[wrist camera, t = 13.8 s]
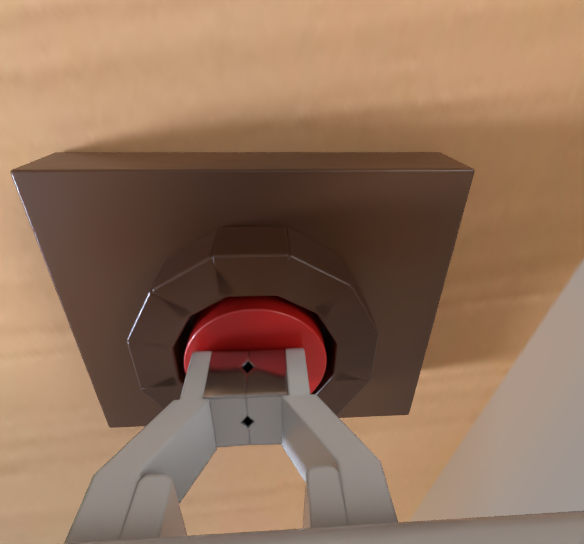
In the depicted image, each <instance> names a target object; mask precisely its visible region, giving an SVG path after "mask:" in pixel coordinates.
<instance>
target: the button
mask: <svg viewBox="0 0 584 544" xmlns="http://www.w3.org/2000/svg"><path fill="white" fill-rule="evenodd" d="M285 348H303V349H304V350H305V358H306V365H307V372H308V380H309V387H310V394H311V393H312V392H313V391H314V390H315V389H316V388H317V386H318V385H319V384H320V382H321V380H322V378H323V376H324V373H325V370H326V364H327V356H326V350H325V345H324V340H323V335H322V330H321V325H320V321H319V316H318V315H317V314H316V313H314V312H312V311H310V310H308V309H305V308H303V307H301V306H299V305H297V304H294V303H292V302H290V301H288V300H286V299H283V298H281V297H279V296H240V297H227V298H225V299H223V300H221V301H219V302H217V303H215V304H213V305H211V306H209V307H207V308H205V309H204V310H202V311H200V312H198V313H196V315H195V319H194V322H193V325H192V329H191V332H190V336H189V339H188V342H187V346H186V349H185V353H184V368H185V372H186V374H187V370H188V366H189V363H190V359H191V355H192V354H193V352H194V351H213V350H263V349H285Z"/></svg>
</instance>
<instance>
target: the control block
mask: <svg viewBox="0 0 584 544" xmlns="http://www.w3.org/2000/svg"><path fill="white" fill-rule="evenodd" d="M11 175H12V178H13V180H14V183H15V186H16V188H17V191H18V193H19V196H20V198H21V201H22V204H23V206H24V209H25V211H26V214H27V216H28V219H29V222H30V224H31V227H32V229H33V232H34V234H35V237H36V240H37V242H38V245H39V247H40V250H41V253H42V255H43V258H44V260H45V263H46V265H47V268H48V271H49V273H50V276H51V278H52V281H53V283H54V286H55V289H56V291H57V294H58V296H59V299H60V301H61V304H62V307H63V309H64V312H65V314H66V317H67V319H68V322H69V325H70V327H71V330H72V332H73V335H74V337H75V340H76V343H77V345H78V348H79V350H80V353H81V355H82V358H83V361H84V363H85V366H86V368H87V371H88V373H89V376H90V379H91V381H92V384H93V386H94V389H95V392H96V394H97V397H98V399H99V402H100V404H101V407H102V410H103V412H104V415H105V417H106V420H107V422H108V425H109V427H111V428H113V427H136V426H146V425H148V424H149V423H150V422H151V421H152V420H153V419H154V418H155V417H156V416H157V415H158V414H159V413H160V412H161V411H162V410H164V409H165V408H166V407H167V406H168V405H169V404H170V403H171V402H172V401H173V400H180V396H181V393H182V389H183V385H184V381H185V378H186V372H185V368H184V353H185V349H186V346H187V342H188V339H189V336H190V332H191V329H192V325H193V322H194V319H195V315H196V313H198V312H200V311H202V310H204V309H205V308H207V307H209V306H211V305H213V304H215V303H217V302H219V301H221V300H223V299H225V298H227V297H240V296H279V297H281V298H283V299H286V300H288V301H290V302H292V303H294V304H297V305H299V306H301V307H303V308H305V309H308V310H310V311H312V312H314V313H316V314H317V315H318V316H319V321H320V325H321V330H322V335H323V340H324V345H325V350H326V356H327V364H326V370H325V373H324V376H323V378H322V380H321V382H320V384H319V385H318V386H317V388H316V389H315V390H314V391H313V392H312V393H311V394H316V395H317V396H318V397H319V398H320V399H321V400H322V401H323V402H324V403H325V404H326V405H327V406H328V407H329V408H330V409H331V410H332V411H333V412H334V413H335V414H336V415H337V416H338V418H345V417H368V416H391V415H408V414H409V411H410V408H411V404H412V400H413V397H414V393H415V389H416V386H417V382H418V378H419V374H420V371H421V367H422V363H423V360H424V356H425V352H426V349H427V345H428V341H429V337H430V334H431V330H432V326H433V323H434V319H435V315H436V312H437V308H438V304H439V300H440V297H441V293H442V289H443V286H444V282H445V278H446V275H447V271H448V267H449V264H450V260H451V256H452V252H453V249H454V245H455V241H456V238H457V234H458V230H459V227H460V223H461V219H462V215H463V212H464V208H465V204H466V201H467V197H468V193H469V190H470V186H471V182H472V178H473V175H474V169H473V168H471V167H469V166H467V165H464V164H462V163H460V162H458V161H456V160H454V159H452V158H450V157H448V156H446V155H444V154H442V153H53V154H51V155H48V156H46V157H43V158H41V159H38V160H36V161H33V162H31V163H28V164H26V165H23V166H21V167H18V168H16V169H13V170H11Z"/></svg>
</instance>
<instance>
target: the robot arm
mask: <svg viewBox="0 0 584 544" xmlns="http://www.w3.org/2000/svg"><path fill="white" fill-rule="evenodd" d="M268 444H282V447H283V448H284V450H285V451H286V453H287V454H288V456H289V458H290V459H291V461H292V462H293V464H294V465H295V467H296V469H297V470H298V472H299V473H300V475H301V476H302V478H303V480H304V481H305V498H304V514H303V529H287V530H271V531H255V532H239V533H224V534H208V535H192V536H187V532H186V528H185V525H184V521H183V517H182V513H181V510H180V506H179V503H180V502H181V500H182V499H183V498H184V496H185V495H186V493H187V492H188V490H189V489H190V487H191V486H192V484H193V483H194V482H195V480H196V479H197V477H198V476H199V474H200V473H201V471H202V470H203V469H204V467H205V466H206V464H207V463H208V461H209V460H210V458H211V457H212V455H213V454H214V453H215V451H216V450H217V449H216V447H228V446H241V445H268ZM64 544H584V511H574V512H558V513H542V514H526V515H512V516H511V515H510V516H494V517H480V518H479V517H478V518H464V519H463V518H462V519H447V520H431V521H416V522H399V523H398V520H397V517H396V513H395V510H394V506H393V503H392V499H391V496H390V492H389V489H388V485H387V482H386V479H385V475H384V472H383V468H382V465H381V461H380V460H379V459H378V458H377V457H376V456H375V455H374V454H373V453H372V452H371V451H370V450H369V449H368V448H367V447H366V445H365V444H364V443H363V442H362V441H361V440H360V439H359V438H358V437H357V436H356V435H355V434H354V433H353V432H352V431H351V430H350V429H349V428H348V427H347V426H346V425H345V424H344V423H343V422H342V421H341V420H340V419H339V418H338V416H337V415H336V414H335V413H334V412H333V411H332V410H331V409H330V408H329V407H328V406H327V405H326V404H325V403H324V402H323V401H322V400H321V399H320V398H319V397H318V396H317V395H316V394H310V387H309V380H308V372H307V365H306V358H305V350H304V349H303V348H285V349H263V350H213V351H194V352H193V354H192V355H191V359H190V363H189V366H188V370H187V374H186V378H185V381H184V385H183V389H182V393H181V396H180V400H173V401H172V402H171V403H170V404H169V405H168V406H167V407H166V408H165V409H164V410H162V411H161V412H160V413H159V414H158V415H157V416H156V417H155V418H154V419H153V420H152V421H151V422H150V423H149V424H148V425H146V426H145V427H144V428H143V429H142V430H141V431H140V432H139V433H138V434H137V435H136V436H135V437H134V438H133V439H132V440H130V441H129V442H128V443H127V444H126V445H125V446H124V447H123V448H122V449H121V450H120V451H119V452H118V453H117V454H116V455H114V456H113V457H112V458H111V459H110V460H109V461H108V462H107V463H106V464H105V465H104V466H103V467H102V468H101V469H100V470H98V471H97V472H96V473H95V474H94V475H93V478H92V480H91V482H90V485H89V487H88V489H87V492H86V494H85V496H84V499H83V501H82V503H81V506H80V508H79V510H78V512H77V515H76V517H75V519H74V522H73V524H72V526H71V529H70V531H69V533H68V536H67V538H66V540H65V543H64Z"/></svg>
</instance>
